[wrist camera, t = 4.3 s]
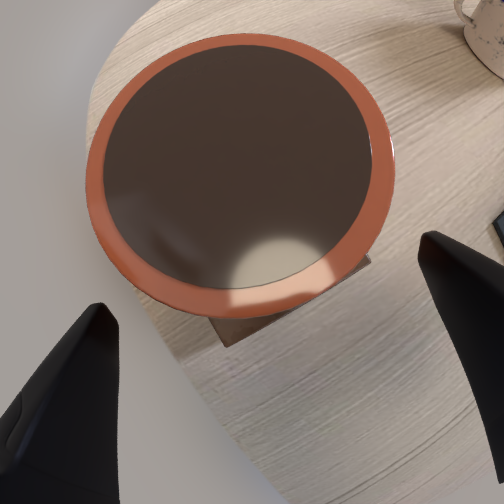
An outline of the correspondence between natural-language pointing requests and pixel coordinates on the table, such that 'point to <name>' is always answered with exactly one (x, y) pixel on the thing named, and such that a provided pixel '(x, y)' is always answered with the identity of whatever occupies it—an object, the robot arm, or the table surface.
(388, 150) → the cup
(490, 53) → the teacup with lid
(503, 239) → the desk mat
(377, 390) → the table surface
